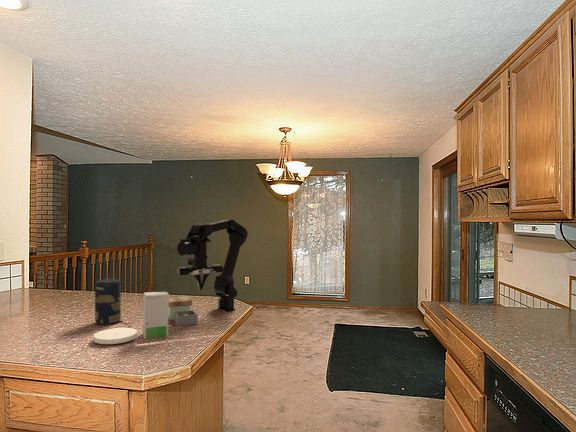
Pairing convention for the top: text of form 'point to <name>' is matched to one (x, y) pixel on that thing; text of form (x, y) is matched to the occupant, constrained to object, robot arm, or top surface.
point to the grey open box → (186, 318)
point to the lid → (179, 301)
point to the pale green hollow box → (176, 309)
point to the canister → (107, 301)
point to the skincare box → (155, 314)
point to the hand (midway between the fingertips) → (200, 289)
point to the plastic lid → (115, 335)
